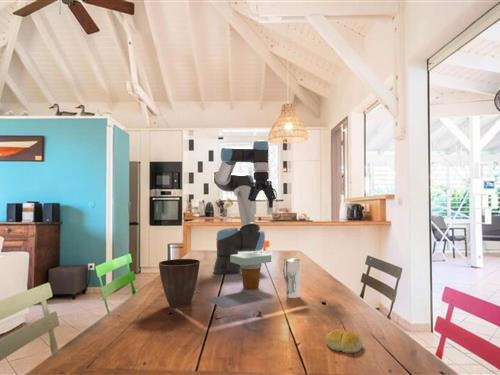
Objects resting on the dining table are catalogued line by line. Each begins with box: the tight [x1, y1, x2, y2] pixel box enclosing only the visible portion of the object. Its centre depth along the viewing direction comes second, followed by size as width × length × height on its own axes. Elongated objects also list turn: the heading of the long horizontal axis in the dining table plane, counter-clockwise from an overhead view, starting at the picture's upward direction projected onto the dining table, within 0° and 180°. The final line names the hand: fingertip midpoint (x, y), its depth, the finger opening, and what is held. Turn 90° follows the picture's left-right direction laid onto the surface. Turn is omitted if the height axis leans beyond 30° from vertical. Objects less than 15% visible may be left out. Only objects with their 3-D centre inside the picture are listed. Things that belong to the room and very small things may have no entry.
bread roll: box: [325, 329, 363, 354], centre depth 90 cm, size 8×9×4 cm
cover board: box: [230, 251, 272, 266], centre depth 149 cm, size 11×14×3 cm
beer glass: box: [282, 257, 302, 299], centre depth 136 cm, size 7×7×15 cm
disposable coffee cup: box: [240, 263, 263, 291], centre depth 149 cm, size 10×10×12 cm
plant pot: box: [158, 258, 201, 309], centre depth 127 cm, size 15×15×16 cm
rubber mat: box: [205, 291, 266, 309], centre depth 131 cm, size 14×18×1 cm
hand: (261, 214), depth 172 cm, fingers open, 13 cm apart
